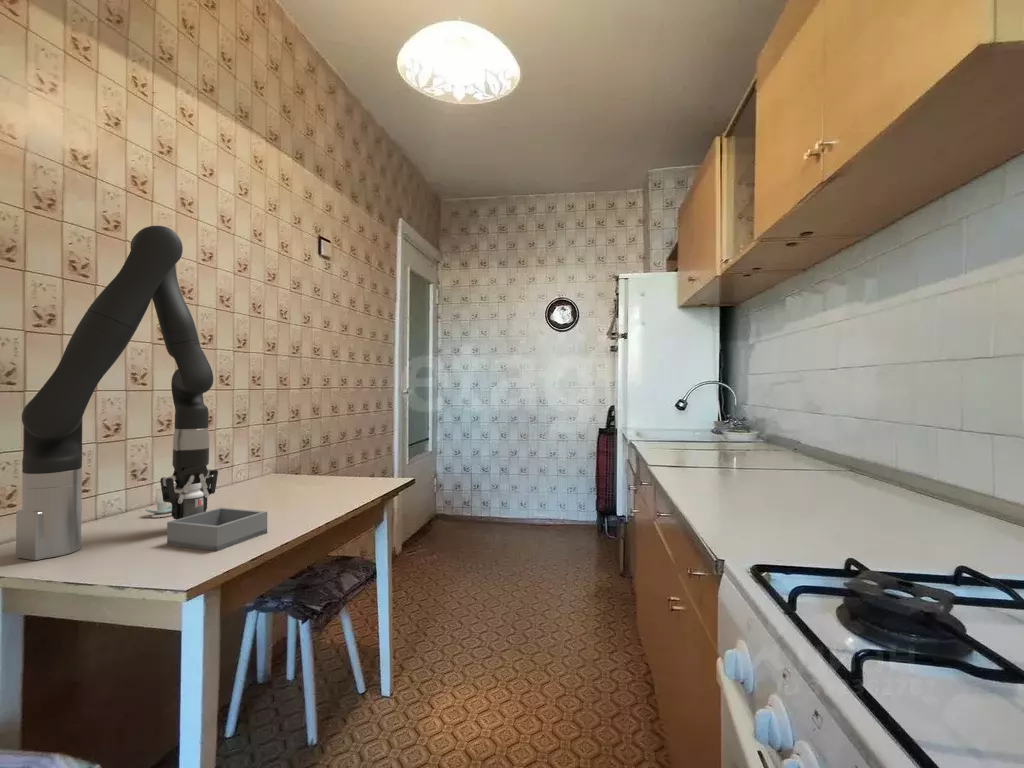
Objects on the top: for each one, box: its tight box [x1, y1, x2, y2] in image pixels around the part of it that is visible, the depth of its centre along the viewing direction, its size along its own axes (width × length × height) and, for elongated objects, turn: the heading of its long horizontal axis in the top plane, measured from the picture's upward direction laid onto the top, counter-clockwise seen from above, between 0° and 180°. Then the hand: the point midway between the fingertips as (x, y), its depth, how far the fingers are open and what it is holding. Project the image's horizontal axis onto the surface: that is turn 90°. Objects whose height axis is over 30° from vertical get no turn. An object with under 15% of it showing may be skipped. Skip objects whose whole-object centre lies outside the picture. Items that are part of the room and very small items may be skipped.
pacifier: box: [145, 491, 172, 519], centre depth 135 cm, size 7×6×6 cm
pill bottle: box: [175, 483, 204, 520], centre depth 122 cm, size 6×6×10 cm
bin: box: [166, 507, 268, 552], centre depth 115 cm, size 14×14×5 cm
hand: (189, 515), depth 122 cm, fingers closed on pill bottle, 5 cm apart
